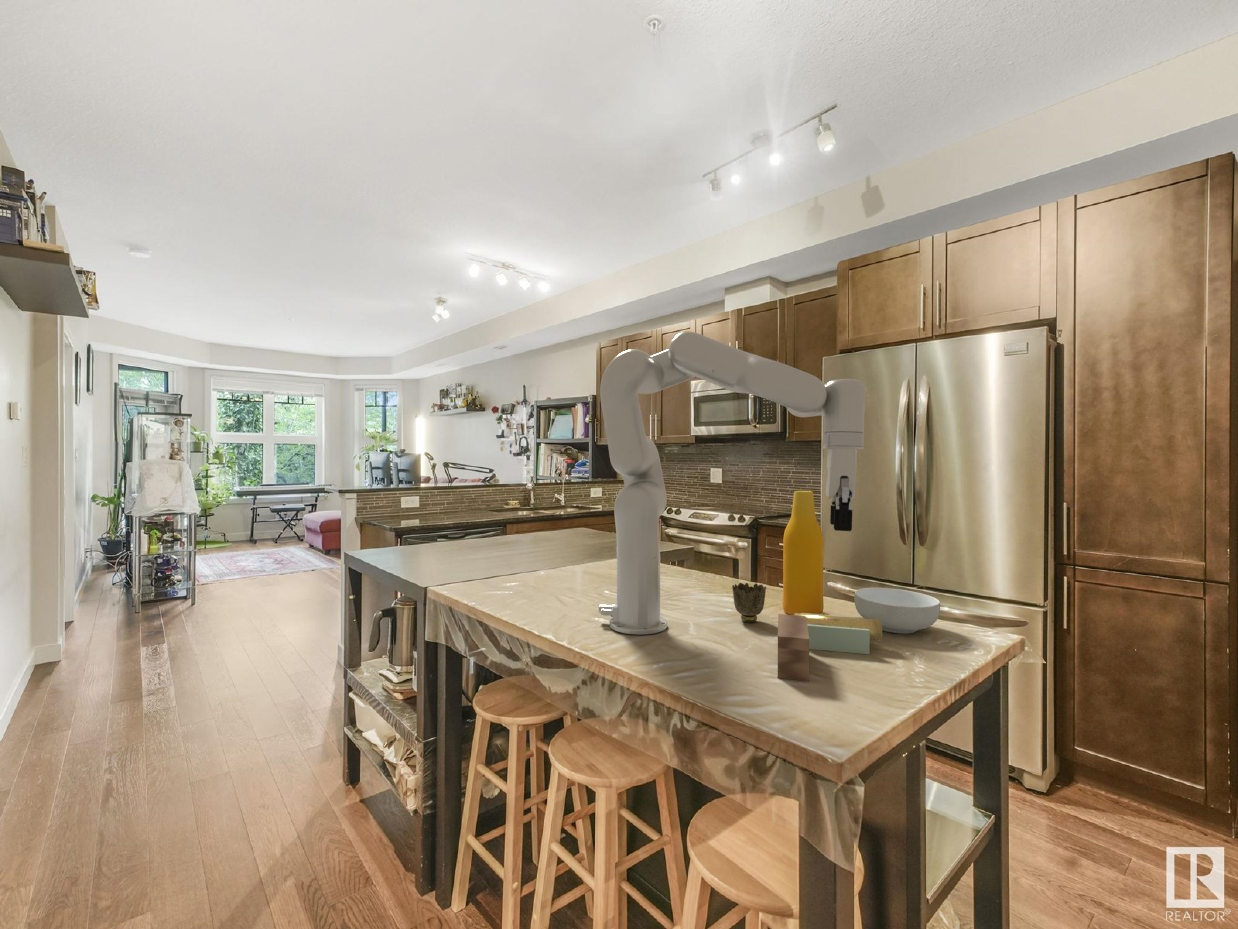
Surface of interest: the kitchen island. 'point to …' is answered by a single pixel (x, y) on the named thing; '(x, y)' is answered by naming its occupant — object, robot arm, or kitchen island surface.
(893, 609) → the cereal bowl
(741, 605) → the cup
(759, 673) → the kitchen island surface
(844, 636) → the v block
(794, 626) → the beam
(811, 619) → the axle
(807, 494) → the beer bottle
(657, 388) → the robot arm
